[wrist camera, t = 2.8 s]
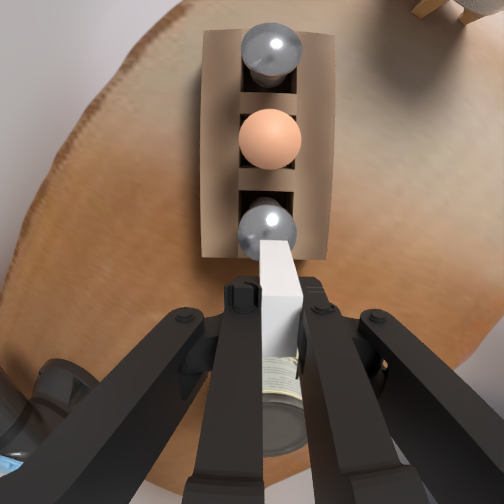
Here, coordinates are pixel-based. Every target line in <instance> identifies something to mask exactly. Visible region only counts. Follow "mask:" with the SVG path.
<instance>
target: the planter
mask: <svg viewBox="0 0 504 504" xmlns="http://www.w3.org/2000/svg"><path fill="white" fill-rule="evenodd" d="M447 1H449V0H422V1H421V2H420V3H418V4H417V5H416V6H415V7H414V8H413V10H412V11H411V12H412V13H413V14H414V15H416V16H417V17H418V18H419V19H422V18H423V17H424V16H426V15H427V14H429V13H430V12H432V11H434V10H435V9H437V8H438V7H440V6H441V5H443V4H444V3H446V2H447ZM454 1H455V2H457V3H458V4H460V5H461V6H463V7H464V12H463V13H462V14H461V15H460V17H459V19H458V20H459V21H460V22H462V23H463V24H464V25H466V24H469V23H471V22H473V21H475V20H477V19H480V18H482V17H484V16H488V15H493V14H495V13H498V12H500V11H503V10H504V0H454Z"/></svg>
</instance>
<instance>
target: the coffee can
mask: <svg viewBox="0 0 504 504" xmlns="http://www.w3.org/2000/svg"><path fill="white" fill-rule="evenodd" d="M298 356H299V353H298V348H297V356H296V357H262V398H263V457H273V456H280V455H284V454H288V453H291V452H294V451H296V450H298V449H300V448H302V447H303V446H305V445H306V444H307V443H308V439H307V431H306V424H305V416H304V409H303V402H302V395H301V387H300V381H299V378H298V380H295V378H296V371H297V363H298Z"/></svg>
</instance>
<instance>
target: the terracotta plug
mask: <svg viewBox="0 0 504 504" xmlns="http://www.w3.org/2000/svg"><path fill="white" fill-rule="evenodd" d="M239 146H240V149H241V151H242V153H243V155H244V157H245V158H246V159H247V160H248V161H249V162H250V163H251V164H253V165H255V166H257V167H259V168H262V169H268V170H274V169H279V168H282V167H284V166H286V165H288V164H289V163H290V162H292V161H293V160H294V159H295V157H296V156H297V154H298V152H299V150H300V147H301V132H300V129H299V127H298V125H297V123H296V122H295V121H294V119H293V118H292V117H290V116H289V115H288V114H286V113H284V112H282V111H280V110H276V109H264V110H260V111H257V112H255V113H253V114H252V115H250V116H249V117H248V118H247V119H246V120H245V121H244V123H243V125H242V126H241V129H240V132H239Z"/></svg>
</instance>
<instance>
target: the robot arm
mask: <svg viewBox="0 0 504 504" xmlns="http://www.w3.org/2000/svg"><path fill="white" fill-rule="evenodd" d="M224 302H225V309H224V312H223V313H222V314H220V315H217V316H213V317H207V318H204V315H203V313H202V312H201V311H200V310H198V309H195V308H188V307H184V308H183V307H182V308H178V309H175V310H172V311H171V312H170V313H168V314H167V315H166V316H165V317H164V318H163V319H162V320H161V321H160V322H159V323H158V324H157V325H156V326H155V327H154V328H153V329H152V330H151V331H150V332H149V333H148V334H147V335H146V336H145V337H144V338H143V339H142V340H141V341H140V342H139V343H138V344H137V345H136V346H135V347H134V348H133V349H132V350H131V351H130V352H129V353H128V354H127V355H126V357H125V358H124V359H123V360H122V361H121V362H120V363H119V364H118V365H117V366H116V367H115V368H114V369H113V370H112V371H111V372H110V373H109V374H108V375H107V376H106V377H105V378H104V379H103V380H102V381H101V382H100V383H99V382H98V381H97V380H96V379H95V378H94V377H93V376H92V375H91V374H89V373H88V372H87V371H85V370H84V369H82V368H81V367H79V366H77V365H76V364H74V363H71V362H69V361H66V360H63V359H50V360H48V361H47V362H46V363H45V364H44V365H43V366H42V367H41V369H40V370H39V372H38V376H37V380H36V383H35V386H34V390H33V394H32V397H31V398H30V400H29V401H28V400H27V398H26V397H25V396H24V395H23V394H22V393H21V391H20V390H19V389H18V388H17V387H16V385H15V384H14V383H13V382H12V381H11V379H10V378H9V377H8V375H7V374H6V373H5V371H4V370H3V369H2V367H1V366H0V472H2V473H3V474H4V476H2V477H0V504H129V502H130V501H131V499H132V498H133V496H134V494H135V493H136V491H137V490H138V488H139V487H140V485H141V484H142V482H143V481H144V479H145V477H146V476H147V474H148V473H149V471H150V469H151V468H152V466H153V465H154V463H155V462H156V460H157V458H158V457H159V455H160V454H161V452H162V450H163V449H164V447H165V446H166V444H167V442H168V441H169V439H170V437H171V436H172V434H173V433H174V431H175V429H176V428H177V426H178V424H179V423H180V421H181V420H182V418H183V416H184V415H185V413H186V411H187V410H188V408H189V406H190V405H191V403H192V401H193V400H194V398H195V396H196V395H197V393H198V392H199V390H200V388H201V387H202V385H203V383H204V382H205V380H206V378H207V376H208V372H209V371H212V375H211V380H210V385H209V391H208V396H207V401H206V407H205V412H204V417H203V423H202V428H201V434H200V439H199V445H198V450H197V456H196V461H195V467H194V472H193V474H192V476H190V477H188V479H187V481H186V484H185V488H184V493H183V498H182V504H264V481H263V398H262V357H296V356H297V348H298V353H299V356H298V363H297V371H296V378H295V380H298V378H299V381H300V387H301V395H302V402H303V409H304V416H305V424H306V431H307V439H308V447H309V455H310V463H311V471H312V480H313V488H314V497H315V504H430V503H429V500H428V498H427V494H426V491H425V489H424V486H423V483H424V484H425V485H426V487H427V488H428V490H429V491H430V493H431V494H432V496H433V497H434V498H435V500H436V501H437V503H438V504H504V420H503V419H502V418H501V417H500V416H499V415H498V414H497V413H496V412H495V411H494V410H493V409H492V408H491V407H490V406H489V405H488V404H487V403H486V402H485V401H484V400H483V399H482V398H481V397H480V396H479V395H478V394H477V393H476V392H475V391H474V390H473V389H472V388H471V387H470V386H469V385H468V384H466V383H465V382H464V381H463V380H462V379H461V378H460V377H459V376H458V375H457V374H456V373H455V372H454V371H453V370H452V369H451V368H450V367H448V366H447V365H446V364H445V363H444V362H443V361H442V360H441V359H440V358H439V357H438V356H437V355H436V354H434V353H433V352H432V351H431V350H430V349H429V348H428V347H427V346H426V345H425V344H424V343H422V342H421V341H420V340H419V339H418V338H417V337H416V336H415V335H414V334H412V333H411V332H410V331H409V330H408V329H407V328H406V327H405V326H403V325H402V324H401V323H400V322H399V321H398V320H397V319H396V318H394V317H393V316H392V315H391V314H389V313H388V312H385V311H383V310H380V309H378V310H377V309H368V310H365V311H363V312H362V313H361V315H360V319H354V318H348V317H344V316H342V315H341V312H340V310H339V309H338V307H337V306H335V305H334V304H332V303H329V301H328V298H327V296H326V294H325V292H324V289H323V286H322V284H321V282H320V281H319V280H318V279H316V278H315V277H298V276H297V272H296V269H295V265H294V261H293V258H292V255H291V251H290V248H289V244H288V241H281V240H260V258H259V277H253V276H238V277H236V278H235V279H234V280H233V282H230V283H228V284H226V286H225V287H224ZM384 360H385V361H386V362H387V364H388V367H387V368H385V367H384V366H383V361H384ZM391 437H392V438H393V440H394V441H395V443H396V444H397V445H398V447H399V448H400V450H401V451H402V453H403V454H404V455H405V457H406V458H407V460H408V461H409V463H410V464H411V465H403V464H402V463H401V462H400V460H399V458H398V455H397V452H396V450H395V447H394V444H393V441H392V438H391ZM422 481H423V483H422Z"/></svg>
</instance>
